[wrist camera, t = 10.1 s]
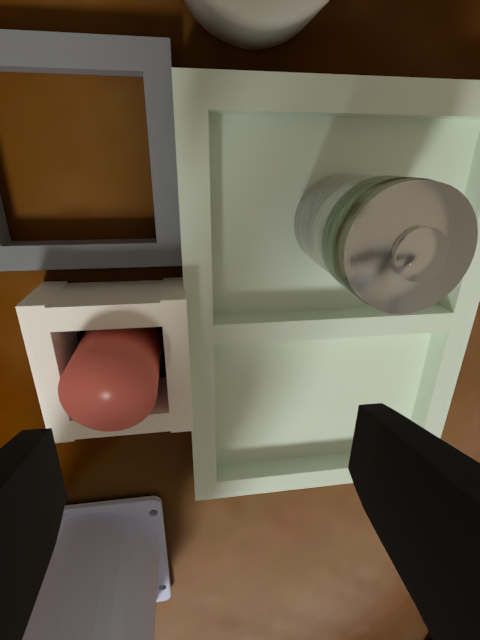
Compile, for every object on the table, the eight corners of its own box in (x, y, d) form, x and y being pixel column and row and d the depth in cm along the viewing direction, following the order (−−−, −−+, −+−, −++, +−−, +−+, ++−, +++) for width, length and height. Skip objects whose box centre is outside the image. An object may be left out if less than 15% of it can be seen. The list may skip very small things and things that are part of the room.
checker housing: (191, 393, 20) (193, 430, 17) (68, 402, 19) (49, 443, 16) (185, 277, 17) (186, 299, 14) (43, 281, 16) (15, 306, 14)
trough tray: (413, 452, 24) (430, 474, 22) (194, 475, 22) (195, 500, 20) (504, 90, 16) (541, 82, 14) (172, 78, 14) (171, 67, 12)
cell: (376, 262, 18) (472, 314, 12) (291, 269, 17) (348, 326, 11) (386, 169, 16) (505, 176, 10) (294, 173, 15) (361, 182, 10)
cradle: (182, 260, 17) (182, 265, 16) (-9, 265, 16) (-21, 271, 15) (170, 45, 14) (170, 37, 13) (-70, 34, 13) (-90, 24, 12)
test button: (164, 375, 19) (160, 427, 15) (90, 380, 18) (67, 435, 15) (158, 308, 17) (152, 348, 14) (77, 312, 17) (49, 355, 13)
